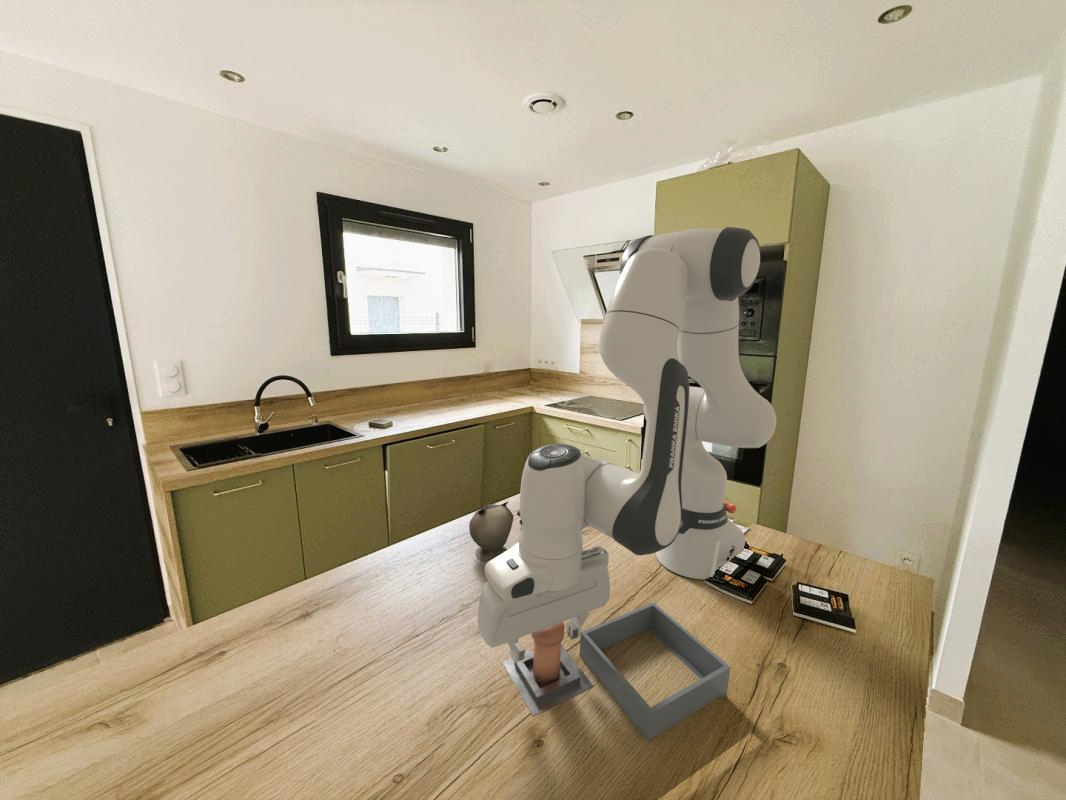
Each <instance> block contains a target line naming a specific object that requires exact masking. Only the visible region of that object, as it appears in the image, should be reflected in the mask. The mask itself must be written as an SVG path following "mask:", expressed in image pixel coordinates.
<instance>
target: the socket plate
mask: <svg viewBox="0 0 1066 800" xmlns="http://www.w3.org/2000/svg"><path fill="white" fill-rule="evenodd" d="M524 656H525V659H523V660H521V661H518V662H516V663H514V661H513V660H512V658H511V657H510V658H508V659H505V660H503V661H501V663H502V665H503V666H504V668H505V670H506V671H507V673H508V675H509V676H510V679H511V681H512V682H513V684H514V686H515V688H516V689H517V691H518V693H519V694H520V696H521V698H522V700H523V701H524V703H525V705H526V707H527V709H528V710H529V712H530V714H531V716H532V717H535V716H537V715H539V714H541V713H543V712H546V711H547V710H549V709H552V708H553V707H555V706H558V705H559V704H562V703H563V702H566V701H568V700H569V699H572V698H574V697H576V696H577V695H580V694H582V693H583V692H586V691H588V690H590V689H591V688H593V687H594V685H593V683H592V682H591V681H590V680H589V678H588V677H587V675H586V674H585V673H584V672H583V670H582V669H581V667H580V666H579V665H578V664H577V663H576V662H575V660H574V659H573V658H572V656H571V655H570V653H569V652H568V651H567V650H566V649H565V647H564V646H563V645H562V644H561V658H560V677H559V679H558V681H556V682H553V683H551V684H549V685H542V684H540V683H538V682H537V681H536V680H535V678H534V676H533V657H534V648H533V649H530V650H528V651H525V654H524Z"/></svg>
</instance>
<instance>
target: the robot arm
mask: <svg viewBox="0 0 1066 800" xmlns="http://www.w3.org/2000/svg"><path fill="white" fill-rule="evenodd" d="M760 264H761V249H760V244H759V240H758V238H757V237H756V236H755V235H754V234H753V232H752V231H751V230H749V229H746V228H741V227H734V226H732V227H731V226H727V227H725V228H689V229H684V230H682V231H681V230H680V231H675V232H669V233H664V234H663V233H662V234H658V235H652V234H649V235H645V236H642V237H639V238H636V239H635V240H632V241H631V243H630V244H629V245H628V246H627V248H625V250H624V252H623V254H622V256H621V260H620V262H619V277H618V279H617V282H616V283H615V286H614V289H613V291H612V294H611V297H610V299H609V303H608V306H607V309H606V313H605V315H604V320H603V323H602V327H601V331H600V335H599V345H598V346H599V353H600V357H601V360H602V361H603V363H604V365H605V366H606V368H607V369H608V370H609V372H610V373H611V374H612V375H613V376H615V377H616V378H617V379H619V380H620V381H621V382H622V383H623V384H625V385H627V386H628V387H629V388H631V389H632V390H633V391H634V392H635V393H636V394H638V396H639V398H640V399H641V400H642V402H643V403H644V405H643V415H644V419H645V421H646V426H645V433H644V441H643V451H642V460H641V466H640V467H641V468H640V471H639V472H636V471H633V470H630V469H627V468H625V467H622V466H619V465H617V464H616V463H613V462H611V461H608V460H605V459H601V458H599V457H597V456H596V457H595V456H589V455H586V454H584V453H582V451H581V450H580V449H579V448H577V447H576V446H574V445H570V444H564V443H553V444H546V445H543V446H540V447H538V448H536V449H535V450H533V451H531V452H530V454H529V455H528V457H527V458H526V461H525V463H524V467H523V470H522V475H521V480H520V481H521V482H520V492H519V512H520V517H519V518H520V520H522V525H521V530H520V533H519V535H518V542H516V543H515V544H514V545H512V546H511V547H510V548H508V549H507V551H504V552H502V553H501V554H500V555H499V556H496V557H493V558H492V559H489V561H487V562H486V564H485V565H484V574H485V577H486V579H487V581H486V582H485V584H483V586H482V589H481V592H480V595H479V600H478V601H479V603H478V610H477V611H478V613H477V628H478V631H479V633H480V635H481V638H482V640H483V641H484V643H486V645H487V646H489V647H491V648H496V647H499V646H501V645H504V644H506V643H507V645H508V646H509V655H510V658H512V660H513V661H514V663H516V662H518V661H521V660H523V659H525V656H524V654H525V652H526V650H525V647H524V646H523V645H522V643H521V641H519V639H520V638H522V637H523V638H524V637H525V636H528V635H530V634H531V633H534V632H536V631H539V630H541V629H544V628H547V627H549V626H552V625H555V624H557V623H560V622H563V623H564V622H565V621H568V620H570V619H571V620H570V621H568V622H566V624H565V627H566V629H565V634H566V635H567V637H569V639H570V640H575V639H577V638H579V637H581V632H582V630H581V628H582V627H583V626H584V624H585V622H586V620H587V619H588V617H589V612H591V611H594V610H597V609H599V608H602V607H604V606H606V605H607V603H608V601H609V600H610V598H611V597H610V595H611V590H610V589H611V586H610V585H611V583H610V573H609V568H608V567H609V558H610V557H609V555H610V554H609V552H608V550H607V549H606V548H603V547H601V546H593V547H591V548H589V549H583V546H584V545H583V543H584V542H583V536H582V531H583V529H585V528H588V527H591V528H592V529H594V530H596V531H599V532H600V533H602V534H604V535H605V536H608V537H610V538H611V539H613V540H614V541H615V542H617V543H618V544H619V545H621V546H623V548H625V549H627V550H628V551H630V552H631V553H632V554H634V555H636V556H645V555H647V556H648V555H652V554H655V556H656V558H657V560H658V561H659V563H660V564H661V565H662V566H663V567H664V568H666V569H668V570H669V571H671V572H673V573H675V574H677V575H680V576H683V577H685V578H690V579H695V580H704V581H705V579H706V578H708V577H713V575H714V574H715V571H716V570H717V569H719V567H721V566H723V565H724V564H726V563H727V562H729V561H730V560H731V559H732V558H734V556H737V555H738V554H740V553H741V552H743V551H744V546H745V545H746V537H745V534H744V532H743V530H741V528H739V526H737V525H736V524H735V523H734V522H732V520H730V519H729V518H728V515H727V512H728V513H730V514H735V513H736V511H737V505H736V504H734V503H731V502H729V501H726V502H725V496H726V495H725V494H726V489H727V488H726V487H727V480H728V475H727V471H726V469H725V468H724V466H723V464H722V463H721V462H720V461H719V460H718V459H717V458H715V457H714V456H712V455H711V454H710V453H709V452H708V451H707V449H706V448H705V446H704V444H703V442H705V443H710V444H714V445H715V444H716V445H719V446H720V445H721V446H725V447H731V448H736V449H737V448H739V449H740V448H743V449H759V448H762V447H763V446H764V445H766V444H767V443H768V442H769V441H770V439H771V438H773V436H774V433H775V431H776V428H777V414H776V412H775V409H774V407H773V405H772V404H771V402H769V400H768V399H766V398H764V396H762V395H760V394H759V393H758V392H757V391H756V390H755V389H754V387H753V386H752V385H751V384H750V382H749V381H748V380H747V378H746V375H745V374H744V371H743V370H742V365H741V363H740V356H739V355H740V353H739V328H740V327H739V325H740V321H739V320H740V305H739V304H740V303H739V297H741V296H743V295H744V294H745V293H747V292H748V291H749V290H750V289H751V288H752V287H753V285H754V284H755V281H756V279H757V276H758V272H759V268H760V267H761V266H760ZM689 377H690V378H691V379H693V380H694V381H695V382H697V384H698V385H699V386H700V387H699V386H690V378H689ZM531 635H532V634H531Z"/></svg>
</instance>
